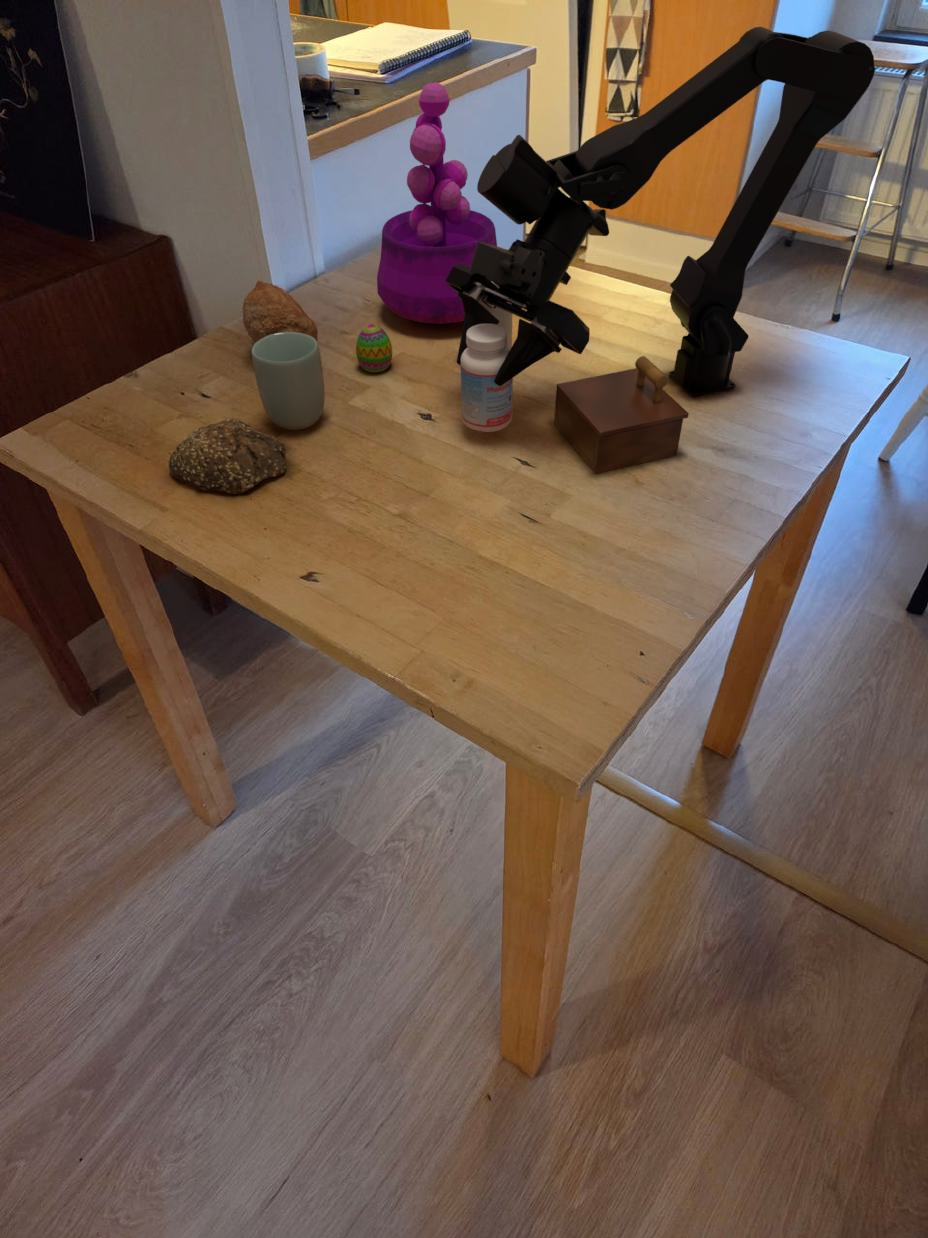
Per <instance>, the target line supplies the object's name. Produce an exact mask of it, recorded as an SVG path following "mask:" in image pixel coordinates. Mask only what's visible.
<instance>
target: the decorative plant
mask: <svg viewBox="0 0 928 1238" xmlns="http://www.w3.org/2000/svg"><path fill="white" fill-rule="evenodd" d="M450 99H451V98H450V97H449V93H448V91H447V89H446V87H445V86H444V85H442V83H438V82H428V83H427V84H425V85H424V86H423V88H422V90H421V92H420V95H419V98H418V105H419V107H420V109H421V113H420V114H419V115H418V117H417V119H416V121H415V128H413V131H412V133H411V136H410V138H409V149H410V153H411V155H412V156H413V158H414V159H415V160H416V161H417V162H419V163H420V165H416V166H413V167H412V168H410V170H409V171H408V172H407V176H406V185H407V187H408V189H409V191H410V193H411V195H412V197H413V198H414V200H415V201H417V202H418V204H416V205H414V207H413V209H411V210H407V211H404V212H401V213H398V214H396V215H394V216H393V217H390V218H389V219H388V220H387V221H386V222H385V223H384V224H383V226H382V229H381V245H380V246H381V247H380V259H379V264H378V268H377V269H378V270H377V275H376V285H377V286H376V289H377V290H376V291H377V295H378V297H379V298H380V299H381V301H382V302H383V304H384V305H385V306H386V307H387V308H388V309H390V311H391V312H393V313H394V314H395V315H397V316H399V317H401V318H403V319H406V320H410V321H414V322H418V323H425V324H440V325H441V324H452V323H460V322H464V307H463V303H462V300H461V299H460V298H459V297H458V293H457V292H456V291H455V290H454V289H452V288H451V287H450V286H449V285H448V284H447V283H446V282H445V280H446V278H447V277H448V275H449V273H450V271H451V269H452V268H453V266H456V265H458V264H461V263H462V264H464V265H467V266H469V267H470V266H471V262H472V259H473V255H474V252H475V248H476V245H477V242H482V243H486V244H490V245H493V246H497V247H498V242H497V241H498V240H497V233H496V226H495V224H494V222H493V220H492V219H491V218H490V217H489V216H487V215H486V214H483V213H481V212H478V211H475V210H471V203H470V202H469V200H468V199H467V197H465V196H464V195H462V194H463V193H462V191H461V190H462V189H463V188H465V187H466V185H467V180H468V169H467V168H466V166H465V164H464V163H463V162H461V161H460V160H457V159H451V160H449V161H446V162H444V155H445V152H446V149H447V148H446V147H447V140H446V137H445V134H444V132H443V131H442V130H443V123H442V120H441V116H443V115H444V114H445V113H446V112H447V110H448V108H449V106H450Z"/></svg>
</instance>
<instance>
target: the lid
mask: <svg viewBox="0 0 928 1238" xmlns="http://www.w3.org/2000/svg"><path fill="white" fill-rule="evenodd" d="M634 366H635V368H631V369H625V370H621V371H616V372H615V371H614V372H610V373H605V374H602V375H594V376H591V377H585V378H580V379H575V380H571V381H570V380H569V381H565V382H561V383H556V388H555V389H557V390H558V391H559V392H560V393H561V394H562V395H563V396H564V397H565V399H566V400H567V401H568V402H569V403H570V404H571V405H572V406H573V408H574V409H575V410H576V411H577V412H578V413H579V414H580V415H581V417H582V418H583V419H584V420H585V421H586V422H587V423H588V424H589V426H590V427H591V428H592V429H593V430H594V431H595V432H596V433H597V435H598V436H599V437H602V436H607V435H611V434H616V433H621V432H625V431H630V430H634V429H639V428H643V427H648V426H653V425H657V424H662V423H666V422H671V421H675V420H680V419H683V420H684V419H688V418H689V415H690V414H689V412H688V411H687V410H686V409H685V408H684V407H683V406H682V405H681V404H679V403H678V401H676V400H675V399H674V398H673V397H672V396H671V395H670V394H669V393H668V392H667V391H665V390H664V388H665V387H666V386H667V385H668V384H669V379H670V378H669V376H668V375H666V374H665V373H664V372H663V371H662V370H661V369H660V368H659V367H658V366H657V365H655V363H653V362H652V361H651V360H650V359H649V358H648V357H646V356H644V355H642V356H639V357H637V359H636V361H635V363H634Z"/></svg>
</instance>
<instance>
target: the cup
mask: <svg viewBox="0 0 928 1238" xmlns="http://www.w3.org/2000/svg"><path fill="white" fill-rule="evenodd" d="M250 354H251V360H252V366H253V372H254V376H255V380H256V381H255V382H256V385H257V389H258V390H257V391H258V393H259V397H260V401H261V404H262V406H263V409H264V411H265V414H266V416H268V419H269V420H270V421H271V422H272V423H273V424H275V425H276V426H277V427H279V428H282V429H284V430H289V431H299V430H304V429H307V428H309V427H312V426H313V425H314V424H315V423H317V422H318V421H319V419H320V418H321V416H322V415H323V412H324V407H325V400H326V399H325V398H326V391H325V379H324V371H323V365H322V364H323V363H322V357H321V351H320V346H319V342H318V340H317V341H316V340H315V339H314V338H313V337H311V336H309V335H307V334H303V333H297V332H280V333H275V334H271V335H268V336H266V337H264V338H262V339H260V340H259V341H257V342H256V343H255V342H254V344H253V346H252V347H251V351H250Z"/></svg>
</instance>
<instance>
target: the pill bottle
mask: <svg viewBox="0 0 928 1238" xmlns="http://www.w3.org/2000/svg"><path fill="white" fill-rule="evenodd" d="M466 344H467V347H468V348H466V349H465V350H464V352H463V353H462V356H461V366H460V398H461V399H460V400H461V421H462V423H463V424H464V425H465V426H466V427H467V428H469V429H472V430H474V431H478V432H483V433H493V432H498V431H500V430H503V429H505V428H507V426H509V425H510V423H511V422H512V419H513V391H514V390H513V388H514V387H513V386H514V385H513V383H514V382H513V381H514V377H513V378H512V379H510V380H509V381H508V382H506V383H505V384H503V385H502V386H498V385H497V384H496V383H495V382H494V380H495V378H496V376H497V373H498V371H499V369H500V367H501V365H502V364H503V362H504V360H505V358H506V356H507V355H508V353H509V351H510V350H509V349H508V348H506V345H507V331H506V329H505V328H503V327H502V326H499V325H496V324H478V325H475V326H472V327H471V328H469V329H468V330H467V333H466Z"/></svg>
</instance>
